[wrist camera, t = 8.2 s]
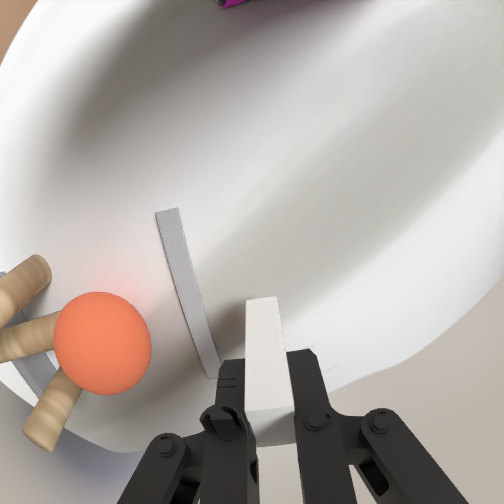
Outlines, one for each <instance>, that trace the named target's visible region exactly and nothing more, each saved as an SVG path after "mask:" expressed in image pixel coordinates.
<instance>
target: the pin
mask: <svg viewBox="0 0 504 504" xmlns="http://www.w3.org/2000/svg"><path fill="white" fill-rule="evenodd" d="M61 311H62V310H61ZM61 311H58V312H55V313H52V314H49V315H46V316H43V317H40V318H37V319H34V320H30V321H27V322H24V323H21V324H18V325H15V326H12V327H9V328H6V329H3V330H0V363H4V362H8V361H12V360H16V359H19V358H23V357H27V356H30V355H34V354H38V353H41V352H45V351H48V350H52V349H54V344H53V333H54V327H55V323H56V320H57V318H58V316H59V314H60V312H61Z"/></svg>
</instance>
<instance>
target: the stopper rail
mask: <svg viewBox="0 0 504 504" xmlns="http://www.w3.org/2000/svg"><path fill="white" fill-rule="evenodd" d="M4 275H5V271H4V272H0V278H1V277H3V276H4ZM24 322H27V320H26V318H25V316H24V314H23V312H22V310H20V311H19V312H18V313H17V314H16V315H15V316H14V317H13V318H12V319H11V320H10V321H9V322H8V323H7V324H6V325H5V326H4V327H3V328H2V329H1V330H3V329H6V328H9V327H12V326H15V325H18V324H21V323H24ZM12 363H13V364H14V366H15V367H16V369H17V370H18V372H19V373H20V374H21V376H22V377H23V379H24V380H25V381H26V383H27V384H28V385H29V387H30V388H31V389H32V391H33V392H34V393H35V394H36V396H37V397H38V398H39V399H40V398H41V396H42V394H43V393H44V391H45V389H46V388H47V386H48V385H49V383H50V381H51V380H52V378H53V377H54V375H55V374H56V372H57V371H56V369H55V368H54V366H53V365H52V363H51V362H50V360H49V359H48V357H47V355H46V354H45V352H41V353H38V354H34V355H30V356H27V357H23V358H19V359H16V360H12Z"/></svg>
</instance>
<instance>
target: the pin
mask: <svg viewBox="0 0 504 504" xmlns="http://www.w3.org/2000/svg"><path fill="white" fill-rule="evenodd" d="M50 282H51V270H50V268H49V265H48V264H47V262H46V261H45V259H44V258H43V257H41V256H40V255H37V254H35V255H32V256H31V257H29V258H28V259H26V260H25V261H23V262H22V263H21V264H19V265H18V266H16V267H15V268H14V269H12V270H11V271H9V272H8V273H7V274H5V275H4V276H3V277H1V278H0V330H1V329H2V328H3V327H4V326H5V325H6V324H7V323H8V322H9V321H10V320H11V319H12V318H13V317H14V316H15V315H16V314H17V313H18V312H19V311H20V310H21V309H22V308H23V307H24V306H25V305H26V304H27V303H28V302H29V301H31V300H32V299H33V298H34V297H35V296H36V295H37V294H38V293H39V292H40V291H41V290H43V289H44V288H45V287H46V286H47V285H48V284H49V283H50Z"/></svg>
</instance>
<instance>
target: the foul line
mask: <svg viewBox="0 0 504 504" xmlns="http://www.w3.org/2000/svg"><path fill="white" fill-rule="evenodd" d="M156 217H157V221H158V225H159V229H160V233H161V237H162V240H163V244H164V248H165V252H166V255H167V259H168V262H169V266H170V269H171V273H172V276H173V279H174V283H175V286H176V289H177V292H178V296H179V299H180V302H181V305H182V308H183V311H184V314H185V317H186V320H187V323H188V326H189V329H190V332H191V334H192V337H193V340H194V343H195V346H196V348H197V351H198V354H199V356H200V359H201V362H202V364H203V367H204V370H205V372H206V375H207V377H208V379H218V373H219V368H220V367H221V363H220V360H219V357H218V354H217V350H216V347H215V344H214V341H213V338H212V334H211V331H210V328H209V325H208V321H207V318H206V314H205V311H204V308H203V304H202V301H201V297H200V293H199V290H198V286H197V282H196V279H195V275H194V271H193V267H192V264H191V260H190V256H189V252H188V248H187V244H186V240H185V235H184V231H183V227H182V223H181V218H180V214H179V209H178V208H173V209H168V210H163V211H159V212H156Z"/></svg>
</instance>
